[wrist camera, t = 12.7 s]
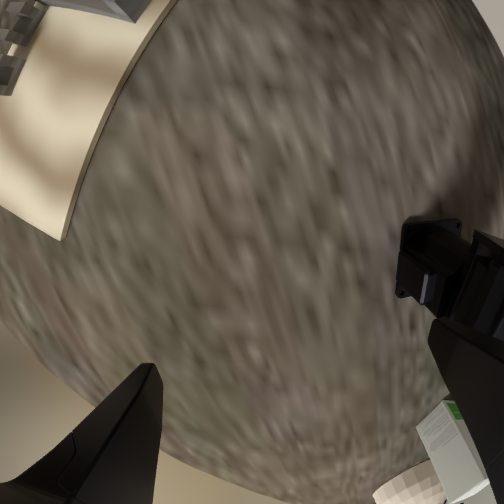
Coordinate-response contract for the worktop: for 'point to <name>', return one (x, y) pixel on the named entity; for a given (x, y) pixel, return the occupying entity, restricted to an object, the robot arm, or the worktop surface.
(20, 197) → the board
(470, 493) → the skincare box
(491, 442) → the robot arm
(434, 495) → the kettle
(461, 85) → the worktop surface
